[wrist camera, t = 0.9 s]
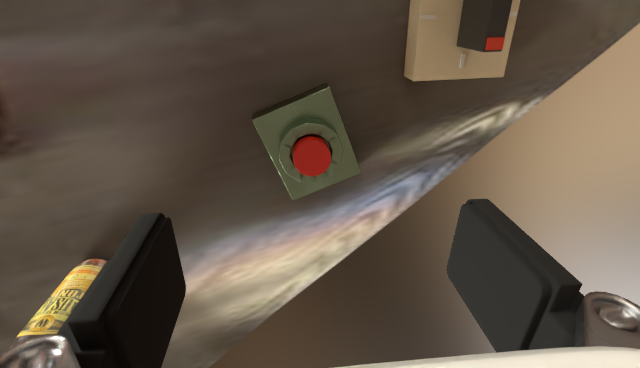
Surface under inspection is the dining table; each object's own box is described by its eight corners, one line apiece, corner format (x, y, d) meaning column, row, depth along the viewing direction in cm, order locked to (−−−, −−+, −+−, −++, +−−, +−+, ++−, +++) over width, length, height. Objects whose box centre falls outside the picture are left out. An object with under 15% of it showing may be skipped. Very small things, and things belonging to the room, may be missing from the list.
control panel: (414, -54, 32) (428, -60, 29) (513, -56, 33) (535, -61, 30) (403, 76, 38) (413, 81, 35) (488, 72, 39) (504, 77, 36)
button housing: (252, 114, 38) (250, 125, 34) (326, 82, 37) (332, 90, 34) (292, 191, 43) (293, 208, 39) (357, 165, 42) (365, 179, 39)
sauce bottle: (120, 254, 44) (19, 415, 27) (130, 289, 47) (44, 455, 30) (66, 256, 44) (-74, 422, 26) (79, 291, 47) (-39, 463, 29)
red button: (286, 144, 36) (287, 150, 35) (321, 129, 36) (323, 135, 34) (301, 174, 38) (302, 182, 36) (334, 161, 38) (336, 168, 36)
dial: (465, -18, 31) (498, -22, 27) (484, -18, 31) (519, -22, 27) (455, 46, 34) (484, 52, 29) (472, 45, 34) (503, 52, 29)
